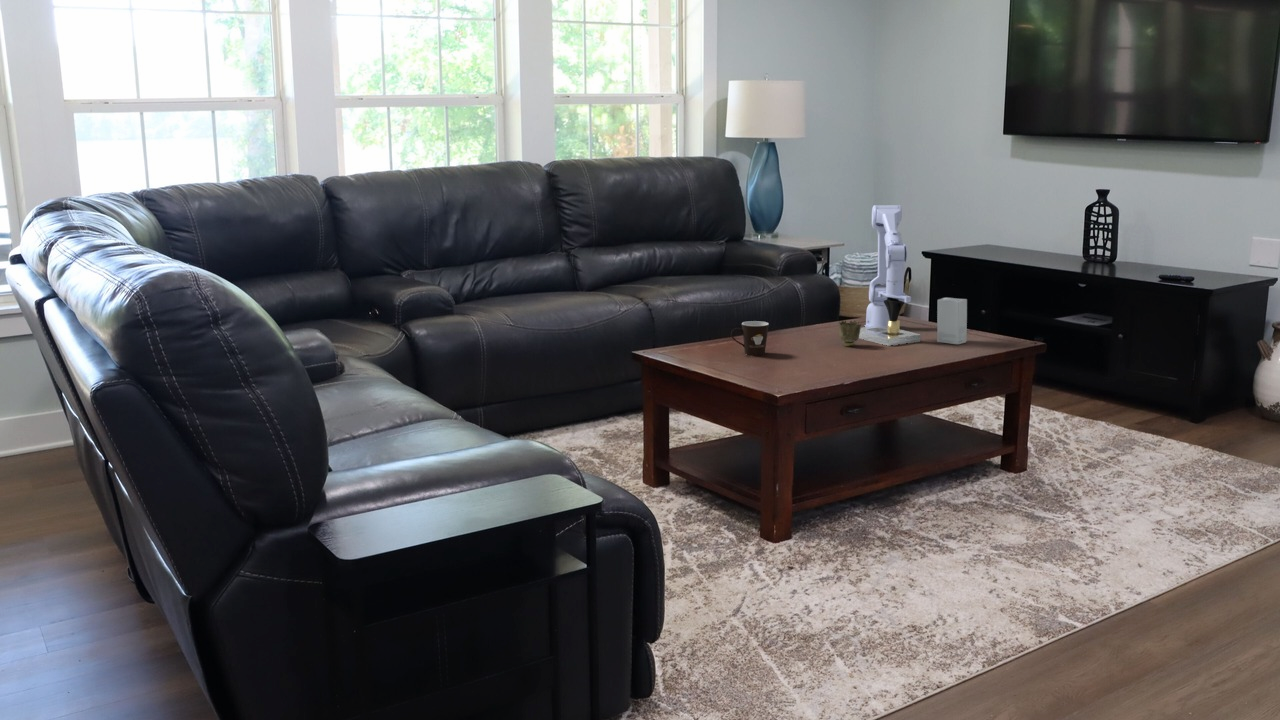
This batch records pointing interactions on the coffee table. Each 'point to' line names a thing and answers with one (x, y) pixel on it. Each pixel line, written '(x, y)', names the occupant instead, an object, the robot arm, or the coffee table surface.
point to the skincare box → (952, 320)
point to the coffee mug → (753, 337)
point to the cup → (849, 332)
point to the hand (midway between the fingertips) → (893, 320)
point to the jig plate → (887, 336)
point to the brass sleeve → (893, 328)
